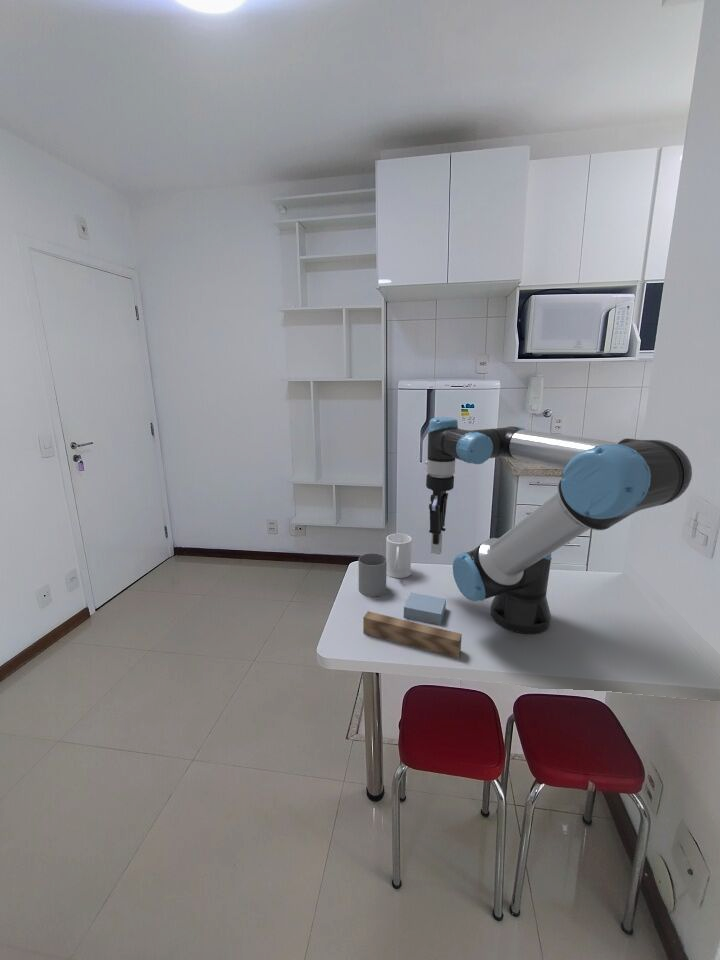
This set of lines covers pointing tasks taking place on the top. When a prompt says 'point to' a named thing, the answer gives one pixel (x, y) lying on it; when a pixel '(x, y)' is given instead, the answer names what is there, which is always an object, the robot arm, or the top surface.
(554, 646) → the top surface
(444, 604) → the block
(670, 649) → the top surface
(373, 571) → the cup
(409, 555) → the mug
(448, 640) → the brown wooden bar
